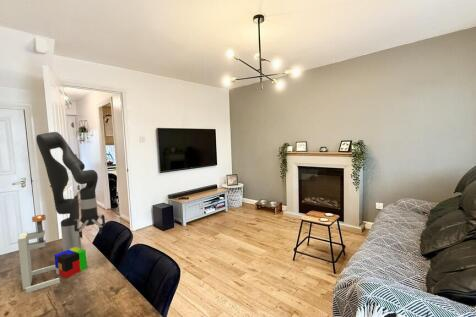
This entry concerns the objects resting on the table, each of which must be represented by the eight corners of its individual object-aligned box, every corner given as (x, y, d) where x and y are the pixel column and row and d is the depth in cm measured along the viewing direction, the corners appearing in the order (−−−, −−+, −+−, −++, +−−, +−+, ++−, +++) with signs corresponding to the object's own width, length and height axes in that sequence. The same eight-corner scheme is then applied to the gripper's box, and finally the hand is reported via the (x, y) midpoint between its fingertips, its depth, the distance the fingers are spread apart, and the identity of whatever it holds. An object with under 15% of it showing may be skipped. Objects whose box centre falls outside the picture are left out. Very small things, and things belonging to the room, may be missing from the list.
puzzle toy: (56, 273, 119) (54, 255, 118) (76, 264, 128) (75, 246, 127) (66, 278, 114) (64, 259, 113) (87, 268, 123) (85, 250, 122)
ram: (48, 244, 117) (45, 214, 116) (48, 248, 113) (45, 216, 112) (35, 247, 114) (32, 216, 113) (34, 251, 110) (31, 218, 109)
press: (60, 266, 125) (56, 224, 124) (59, 282, 111) (55, 234, 109) (26, 276, 117) (22, 230, 115) (21, 294, 102) (16, 242, 101)
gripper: (103, 203, 132) (105, 230, 133) (72, 207, 123) (75, 237, 124) (104, 205, 126) (106, 234, 127) (72, 210, 117) (75, 241, 118)
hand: (91, 235), depth 125 cm, fingers open, 8 cm apart
